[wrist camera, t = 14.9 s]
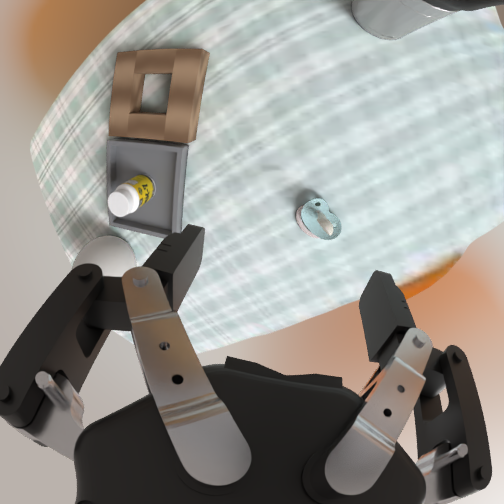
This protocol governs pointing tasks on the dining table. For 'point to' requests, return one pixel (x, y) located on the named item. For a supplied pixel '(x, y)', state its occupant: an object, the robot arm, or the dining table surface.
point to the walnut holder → (180, 96)
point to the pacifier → (318, 220)
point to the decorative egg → (108, 255)
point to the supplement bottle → (131, 195)
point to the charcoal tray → (165, 178)
